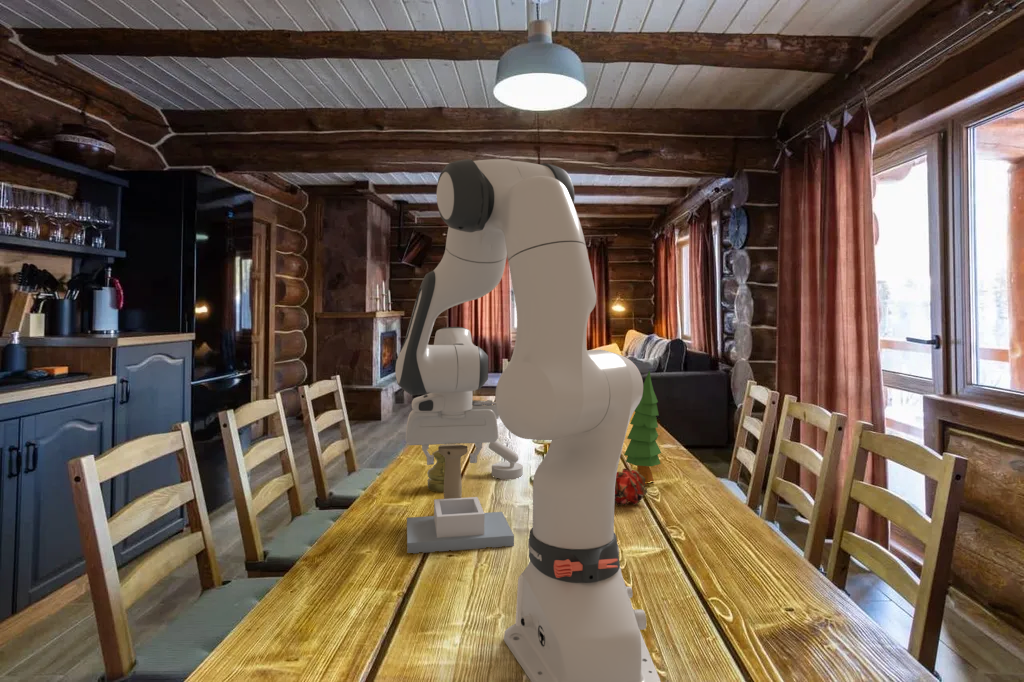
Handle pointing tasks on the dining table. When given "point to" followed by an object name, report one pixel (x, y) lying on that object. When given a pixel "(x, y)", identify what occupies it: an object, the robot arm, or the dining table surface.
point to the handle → (452, 469)
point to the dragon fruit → (629, 487)
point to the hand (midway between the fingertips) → (451, 463)
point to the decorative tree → (644, 433)
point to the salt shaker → (437, 473)
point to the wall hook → (505, 468)
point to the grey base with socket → (458, 527)
